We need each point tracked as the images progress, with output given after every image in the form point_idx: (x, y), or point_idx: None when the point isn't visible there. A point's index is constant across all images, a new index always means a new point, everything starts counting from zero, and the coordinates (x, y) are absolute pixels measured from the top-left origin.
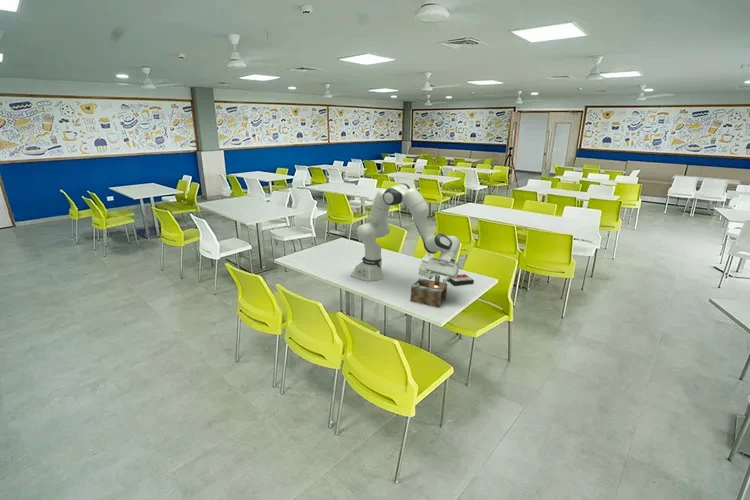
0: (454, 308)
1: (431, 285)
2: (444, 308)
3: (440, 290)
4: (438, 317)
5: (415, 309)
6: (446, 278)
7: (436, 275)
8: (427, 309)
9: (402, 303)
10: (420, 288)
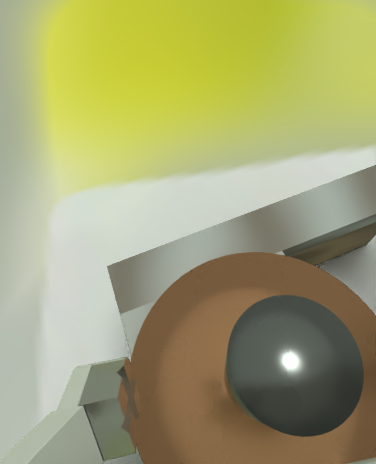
0: (51, 407)
1: (282, 282)
2: (112, 337)
3: (129, 296)
4: (75, 208)
5: (234, 178)
6: (36, 433)
7: (339, 366)
8: (186, 231)
9: (349, 173)
10: (328, 186)
